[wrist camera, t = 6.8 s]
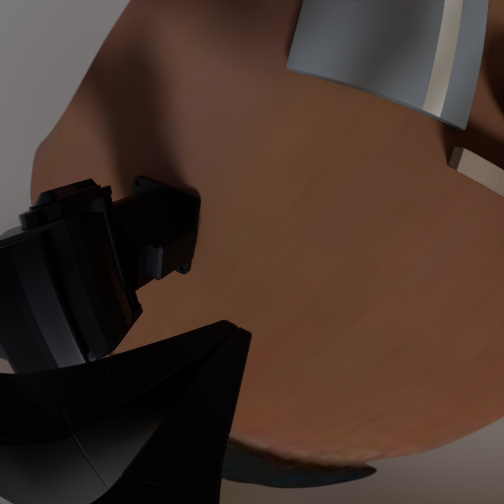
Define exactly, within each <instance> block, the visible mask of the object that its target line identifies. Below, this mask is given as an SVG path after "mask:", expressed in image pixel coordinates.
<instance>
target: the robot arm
mask: <svg viewBox="0 0 504 504" xmlns="http://www.w3.org/2000/svg"><path fill="white" fill-rule="evenodd" d="M139 182H140V184H139ZM111 194H112V191H111V186H110V185H109V186H105V187H101V186H100V185H97V184H96V183H95V182H94V181H93V180H92V178H91V179H87V180H84V181H80V182H77V183H73V184H70V185H66V186H63V187H59V188H56V189H52V190H49V191H46V192H43V193H40V195H39V197H38V199H37V201H36V203H35V205H33V206H31V207H29V211H26V212H24V213H22V214H20V215H19V218H20V223H21V226H18V227H15V228H13V229H10V230H8V231H6V232H5V233H4V234H2V235H1V236H0V358H1V359H4V360H7V361H8V362H9V364H10V366H11V368H12V369H13V371H14V373H15V374H7V373H0V504H220V489H221V480H222V470H223V464H224V459H225V454H226V449H227V445H228V440H229V434H230V431H231V427H232V423H233V418H234V414H235V410H236V405H237V401H238V396H239V392H240V388H241V383H242V379H243V374H244V370H245V365H246V361H247V356H248V352H249V347H250V342H251V338H252V333H251V332H249V331H247V330H245V329H243V328H241V327H239V328H238V327H237V325H235V324H233V323H231V322H229V321H227V320H221V321H218V322H215V323H213V324H210V325H207V326H204V327H201V328H198V329H195V330H192V331H189V332H186V333H183V334H180V335H177V336H174V337H171V338H168V339H165V340H161V341H158V342H155V343H152V344H149V345H146V346H142V347H139V348H136V349H133V350H129V351H126V352H123V353H119V354H116V355H112V356H111V357H105V356H107V355H108V354H110V353H111V352H112V351H114V350H115V349H116V348H117V346H118V345H119V344H120V342H121V341H122V340H123V338H124V337H125V335H126V334H127V333H128V331H129V330H130V329H131V327H132V326H133V324H134V323H135V322H136V320H137V319H138V318H139V316H140V315H141V314H142V312H143V310H142V306H141V304H140V303H139V301H138V298H137V295H136V292H135V290H138V289H139V288H141V287H142V286H144V285H146V284H147V283H149V282H150V281H152V280H153V279H156V280H160V279H162V278H163V277H165V276H167V275H168V274H170V273H171V272H173V271H174V270H175V271H177V272H179V273H181V274H186V273H188V272H189V271H190V268H191V261H192V258H193V256H194V250H195V243H196V237H197V231H198V230H197V222H198V216H199V210H200V200H199V198H198V197H196V196H194V195H191V194H188V193H186V192H183V191H181V190H178V189H175V188H173V187H170V186H167V185H165V184H162V183H159V182H157V181H154V180H151V179H148V178H146V177H143V176H137V177H135V178H134V180H133V190H132V196H129V197H126V198H123V199H120V200H117V201H114V202H112V198H111ZM192 201H193V202H194V206H193V204H192ZM183 267H184V268H185V269H184V268H183ZM103 357H105V358H103ZM101 358H102V359H101Z"/></svg>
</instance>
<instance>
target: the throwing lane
mask: <svg viewBox="0 0 504 504" xmlns="http://www.w3.org/2000/svg"><path fill="white" fill-rule="evenodd" d="M487 11H488V0H304V1H303V5H302V8H301V12H300V16H299V19H298V23H297V27H296V31H295V35H294V38H293V42H292V46H291V50H290V54H289V57H288V61H287V65H286V68H287V69H289V70H291V71H293V72H295V73H299V74H303V75H308V76H312V77H316V78H320V79H324V80H327V81H331V82H335V83H338V84H342V85H345V86H348V87H352V88H355V89H358V90H361V91H364V92H367V93H370V94H373V95H376V96H379V97H382V98H385V99H387V100H390V101H393V102H396V103H398V104H401V105H403V106H406V107H408V108H411V109H413V110H416V111H418V112H420V113H423V114H425V115H427V116H430V117H432V118H434V119H436V120H439V121H441V122H443V123H445V124H447V125H449V126H451V127H453V128H455V129H457V130H465V129H466V125H467V122H468V118H469V114H470V110H471V106H472V102H473V98H474V94H475V89H476V85H477V80H478V75H479V70H480V65H481V59H482V53H483V46H484V39H485V31H486V22H487ZM448 166H449V167H451V168H453V169H455V170H457V171H458V172H460V173H462V174H464V175H466V176H468V177H470V178H472V179H474V180H475V181H477V182H479V183H481V184H483V185H484V186H486V187H488V188H490V189H491V190H493V191H495V192H497V193H498V194H500V195H502V196H503V197H504V170H502V169H501V168H499V167H497V166H496V165H494V164H492V163H490V162H489V161H487V160H485V159H483V158H482V157H480V156H478V155H476V154H474V153H472V152H471V151H469V150H467V149H465V148H460V147H455V146H454V148H453V152H452V155H451V158H450V161H449V164H448Z"/></svg>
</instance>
